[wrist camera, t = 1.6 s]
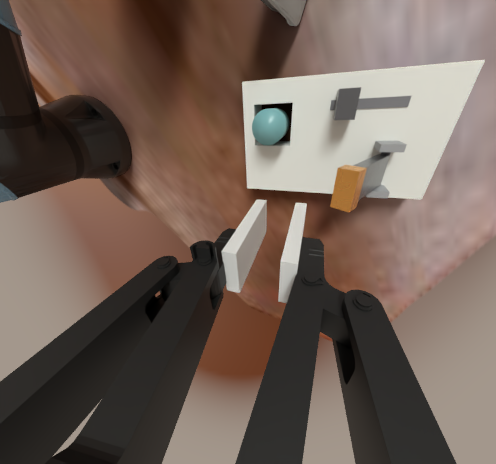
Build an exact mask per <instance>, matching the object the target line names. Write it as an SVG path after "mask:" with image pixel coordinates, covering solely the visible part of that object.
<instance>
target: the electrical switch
mask: <svg viewBox="0 0 496 464" xmlns="http://www.w3.org/2000/svg"><path fill="white" fill-rule="evenodd" d="M261 1H262V2H263V3H264V4H265V5H266V6H268V7H269V8H270V9H271V10H272V11H276V12H279V14H282V15H283V16H284V18H285V19H286V20H287V23H288V24H289V25H290V26H297V25H298V24H299V23H300V20H301V17H302V13H303V10H304V7H305V3H306V0H261Z"/></svg>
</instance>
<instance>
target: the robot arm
mask: <svg viewBox="0 0 496 464" xmlns="http://www.w3.org/2000/svg"><path fill="white" fill-rule="evenodd" d="M20 36H22V35H21V31H20V30H19V29H18V27H17V24H16V21H15V18H14V15H13V12H12V9H11V6H10V3H9V0H0V203H1V202H4V201H9V200H16V199H18V198H19V197H23V196H25V195H29V194H32V193H35V192H38V191H41V190H45V189H48V188H51V187H54V186H57V185H60V184H63V183H67V182H70V181H73V180H76V179H80V178H103V179H108V178H114V177H117V176H119V175H122V174H124V173H125V172H126V171H127V170H128V168H129V166H130V163H131V148H130V144H129V140H128V137H127V135H126V133H125V130H124V128H123V127H122V125H121V123H120V122H119V120H118V119H117V117H116V116H115V115H114V114H113V112H112V111H111V110H110V109H109V108H108V107H107V106H106V105H104V104H103V103H102V102H100V101H99V100H97V99H95V98H93V97H90V96H86V95H69V96H65V97H63V98H60V99H58V100H55V101H53V102H50V103H48V104H46V105H43V106H41V107H39V105H38V102H37V98H36V94H35V91H34V87H33V83H32V79H31V76H30V72H29V68H28V65H27V61H26V57H25V53H24V49H23V45H22V41H21V37H20ZM306 206H307V203H296V204H295V208H294V212H293V216H292V219H291V223H290V227H289V231H288V235H287V239H286V243H285V247H284V250H283V254H282V258H281V265H280V282H279V299H278V302H283V303H287V304H286V307H285V310H284V313H283V316H282V320H281V323H280V326H279V329H278V332H277V335H276V339H275V342H274V345H273V348H272V351H271V354H270V357H269V361H268V363H267V367H266V370H265V373H264V376H263V379H262V382H261V385H260V389H259V392H258V395H257V398H256V401H255V404H254V407H253V410H252V413H251V417H250V420H249V423H248V426H247V429H246V432H245V436H244V439H243V442H242V445H241V448H240V451H239V454H238V457H237V461H236V463H235V464H302V459H303V452H304V444H305V437H306V430H307V423H308V415H309V408H310V400H311V393H312V386H313V378H314V370H315V363H316V355H317V348H318V341H319V334H320V332H322V333H323V334H325V335H327V336H329V337H330V338H332V340H333V345H334V351H335V356H336V362H337V367H338V372H339V378H340V383H341V388H342V393H343V398H344V404H345V409H346V415H347V420H348V425H349V431H350V436H351V441H352V447H353V452H354V457H355V463H356V464H456V462H455V460H454V457H453V455H452V453H451V451H450V449H449V447H448V445H447V443H446V441H445V438H444V436H443V434H442V432H441V430H440V428H439V425H438V423H437V421H436V419H435V417H434V415H433V413H432V411H431V408H430V406H429V404H428V402H427V400H426V398H425V396H424V394H423V392H422V389H421V387H420V385H419V383H418V381H417V379H416V377H415V375H414V372H413V370H412V368H411V366H410V364H409V362H408V359H407V357H406V355H405V353H404V351H403V349H402V347H401V345H400V342H399V340H398V338H397V336H396V334H395V332H394V330H393V327H392V325H391V323H390V321H389V319H388V317H387V315H386V313H385V310H384V308H383V306H382V304H381V303H380V302H379V300H378V299H377V298H376V297H374V296H373V295H372V294H370V293H368V292H366V291H362V290H351V291H348V292H347V293H344V292H342V291H339V290H337V289H335V288H333V287H332V286H331V285H329V284H328V282H327V281H326V280H325V277H324V245H323V243H322V242H321V241H320V239H313V238H305V237H303V230H304V222H305V214H306ZM266 216H267V200H256V201H255V203H254V204H253V206H252V207H251V209H250V210H249V212H248V213H247V215H246V216H245V218H244V219H243V220H242V222H241V223H240V225H239V226H238V228H237V229H227V230H225V231H224V232H222V234H221V235H220V236H219V238H218V239H217V240H216V241H215V243H213V242H211V241H199V242H196V243H194V244H193V245H192V246H191V247H190V250H191V253H192V258H193V261H192V262H187V263H178V261H177V259H176V258H175V257H173V256H164V257H161V258H159V259H157V260H155V261H154V262H153V263H152V264H150V265H149V266H148V267H146V268H145V269H144V270H142V271H141V272H140V273H139V274H137V275H136V276H135V277H134V278H132V279H131V280H130V281H128V282H127V283H126V284H124V285H123V286H122V287H121V288H119V289H118V290H117V291H115V292H114V293H113V294H112V295H110V296H109V297H108V298H107V299H105V300H104V301H103V302H101V303H100V304H99V305H98V306H96V307H95V308H94V309H92V310H91V311H90V312H89V313H87V314H86V315H85V316H84V317H82V318H81V319H80V320H78V321H77V322H76V323H75V324H73V325H72V326H71V327H70V328H69V329H67V330H66V331H64V332H63V333H62V334H61V335H59V336H58V337H57V338H55V339H54V340H53V341H52V342H51V343H49V344H48V345H47V346H46V347H44V348H43V349H41V350H40V351H39V352H38V353H36V354H35V355H34V356H33V357H31V358H30V359H29V360H28V361H26V362H25V363H24V364H22V365H21V366H20V367H18V368H17V369H16V370H15V371H13V372H12V373H11V374H9V375H8V376H7V377H6V378H4V379H3V380H2V381H1V382H0V464H162V461H163V458H164V456H165V453H166V450H167V448H168V445H169V442H170V439H171V437H172V434H173V431H174V429H175V426H176V423H177V420H178V418H179V415H180V412H181V410H182V407H183V404H184V401H185V398H186V396H187V393H188V390H189V388H190V385H191V382H192V380H193V377H194V374H195V372H196V369H197V366H198V364H199V361H200V358H201V355H202V353H203V350H204V347H205V345H206V342H207V339H208V337H209V334H210V331H211V328H212V326H213V323H214V320H215V318H216V315H217V312H218V309H219V307H220V304H221V301H222V299H223V288H224V286H225V284H226V286H227V290H229V291H233V292H238V293H240V291H241V289H242V287H243V284H244V282H245V280H246V277H247V275H248V273H249V270H250V268H251V266H252V264H253V261H254V259H255V257H256V254H257V252H258V250H259V247H260V245H261V243H262V240H263V238H264V236H265V233H266ZM158 291H160V293H161V294H160V295H159V296H157V297H155V294H156V293H157V292H158ZM102 398H103V399H102ZM101 399H102V400H101ZM100 400H101V402H100ZM99 402H100V403H99ZM98 403H99V405H98V406H97V408H96V409H95V411H94V412H93V414H92V415H91V417H90V419H89V420H88V422H87V423H86V425H85V426H84V428H83V429H82V431H81V432H80V434H79V435H78V436H77V438H76V439H75V441H74V442H73V443H72V444H71V445H70V446H69V447H68V448H66V449H65V450H63V451H61V452H60V453H58V454H56V455H55V456H53V455H54V454H55V453H56V452H57V450H58V449H59V448H60V447H61V446H62V445H63V443H64V442H65V441H66V440H67V439H68V437H69V436H70V435H71V434H72V433H73V432H74V431H75V430H76V428H77V427H78V426H79V425H80V423H81V422H82V421H83V420H84V419H85V418H86V417H87V416H88V414H89V413H90V412H91V411H92V410H93V409H94V407H95V406H96V405H97V404H98ZM52 456H53V457H52Z"/></svg>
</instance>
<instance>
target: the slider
mask: <svg viewBox="0 0 496 464" xmlns="http://www.w3.org/2000/svg"><path fill="white" fill-rule="evenodd" d="M360 92H361V87H358V88H344V89H339V90H338V91H337V97H336V104H335V110H334V116H333V119H334V120H355V115H356V111H357V106H358V101H359V97H360Z"/></svg>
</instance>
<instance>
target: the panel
mask: <svg viewBox="0 0 496 464" xmlns="http://www.w3.org/2000/svg"><path fill="white" fill-rule="evenodd" d="M484 61H485V60H476V61H465V62H454V63H443V64H432V65H421V66H410V67H399V68H388V69H377V70H367V71H356V72H345V73H334V74H323V75H312V76H301V77H290V78H279V79H268V80H257V81H246V82H242V89H243V110H244V131H245V152H246V172H247V188H251V189H266V190H282V191H297V192H312V193H328V194H333V190H334V185H335V179H336V174H337V169H338V168H339V167H341V166H344V165H351V166H353V165H355V164H358V163H360V162H362V161H364V160H366V159H369V158H371V157H373V156H375V155H377V154H381V152H391V154H390V157H389V161H388V164H387V167H386V170H385V173H384V176H383V179H382V182H381V185H380V186H378V187H377V188H375V189H374V190H373V191H371V192H370V193H368V194H367V195H366V197H372V198H387V199H388V197H389V198H405V199H420V200H422V198H423V195H424V193H425V191H426V189H427V187H428V184H429V182H430V180H431V178H432V176H433V173H434V171H435V169H436V167H437V165H438V162H439V160H440V158H441V156H442V154H443V151H444V149H445V147H446V145H447V143H448V140H449V138H450V136H451V134H452V132H453V129H454V127H455V125H456V123H457V121H458V118H459V116H460V114H461V112H462V110H463V107H464V105H465V103H466V101H467V99H468V96H469V94H470V92H471V90H472V88H473V85H474V83H475V81H476V79H477V77H478V74H479V72H480V70H481V68H482V66H483V63H484ZM358 87H361V92H360V97H359V101H358V106H357V111H356V115H355V120H334V119H333V116H334V110H335V104H336V97H337V91H338V90H339V89H344V88H358ZM282 103H293V106H292V122H291V137H290V141H278V142H276V143H275V144H273V145H262V144H260V143H259V142H258V141H257V140H256V139H255V137H254V135H253V132H252V123H253V120H254V118H255V116H256V115H257V113H259V112H260V111H261V110H262V108H261V105H264V104H282Z"/></svg>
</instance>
